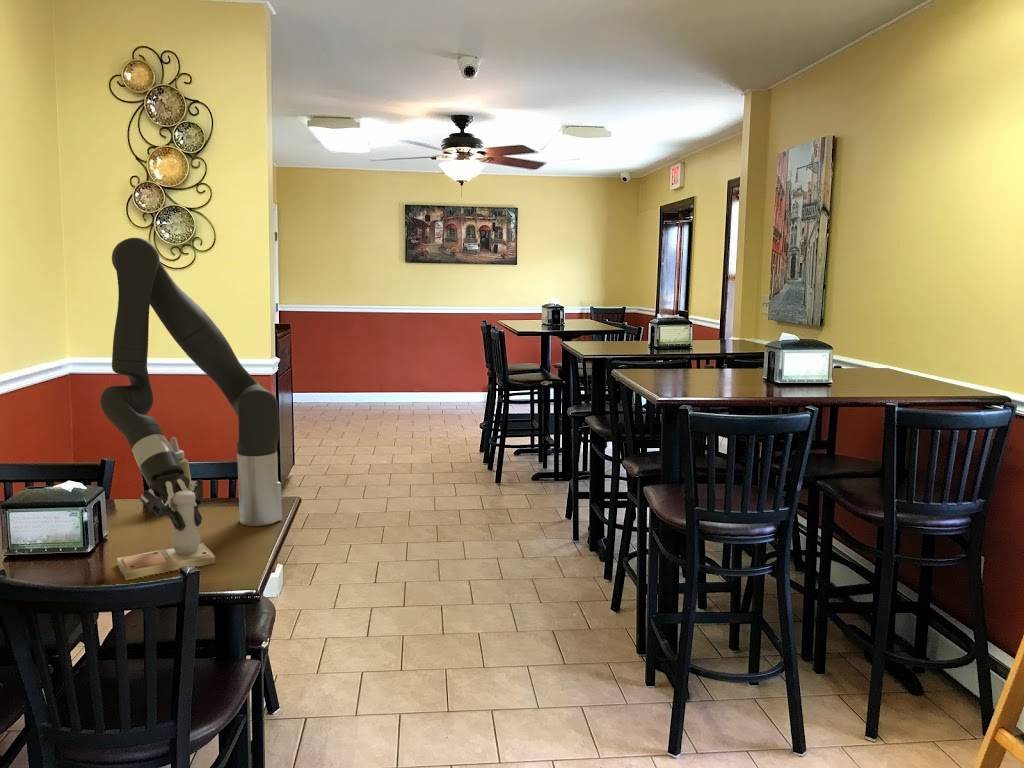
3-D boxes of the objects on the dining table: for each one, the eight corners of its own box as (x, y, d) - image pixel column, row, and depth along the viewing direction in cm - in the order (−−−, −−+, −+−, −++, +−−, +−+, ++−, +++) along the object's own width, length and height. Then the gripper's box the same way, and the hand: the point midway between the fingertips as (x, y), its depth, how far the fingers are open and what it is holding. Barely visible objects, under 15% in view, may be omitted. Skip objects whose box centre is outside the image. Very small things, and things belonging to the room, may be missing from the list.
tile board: (203, 549, 171) (202, 540, 170) (215, 563, 163) (214, 554, 162) (117, 564, 161) (117, 556, 161) (126, 580, 153) (125, 571, 153)
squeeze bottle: (187, 510, 198) (184, 441, 196) (154, 510, 198) (151, 441, 195) (197, 501, 206) (194, 434, 204) (166, 501, 206) (162, 434, 203)
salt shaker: (190, 557, 161) (187, 496, 159) (165, 555, 162) (162, 494, 160) (206, 548, 166) (204, 489, 164) (182, 545, 167) (180, 487, 166)
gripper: (130, 456, 160) (165, 525, 154) (193, 444, 171) (227, 509, 166) (119, 476, 164) (152, 545, 158) (181, 464, 175) (214, 528, 169)
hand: (190, 526), depth 162 cm, fingers closed on salt shaker, 3 cm apart
